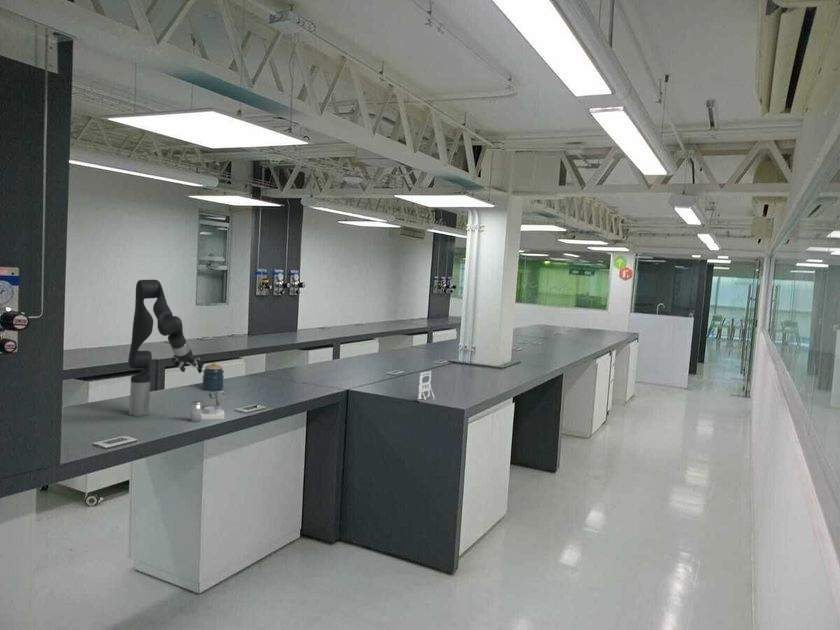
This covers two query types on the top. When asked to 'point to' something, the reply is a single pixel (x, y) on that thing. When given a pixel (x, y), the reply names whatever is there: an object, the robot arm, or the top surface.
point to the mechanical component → (218, 396)
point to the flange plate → (212, 413)
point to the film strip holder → (424, 385)
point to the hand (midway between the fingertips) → (192, 371)
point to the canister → (213, 377)
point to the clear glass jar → (196, 411)
